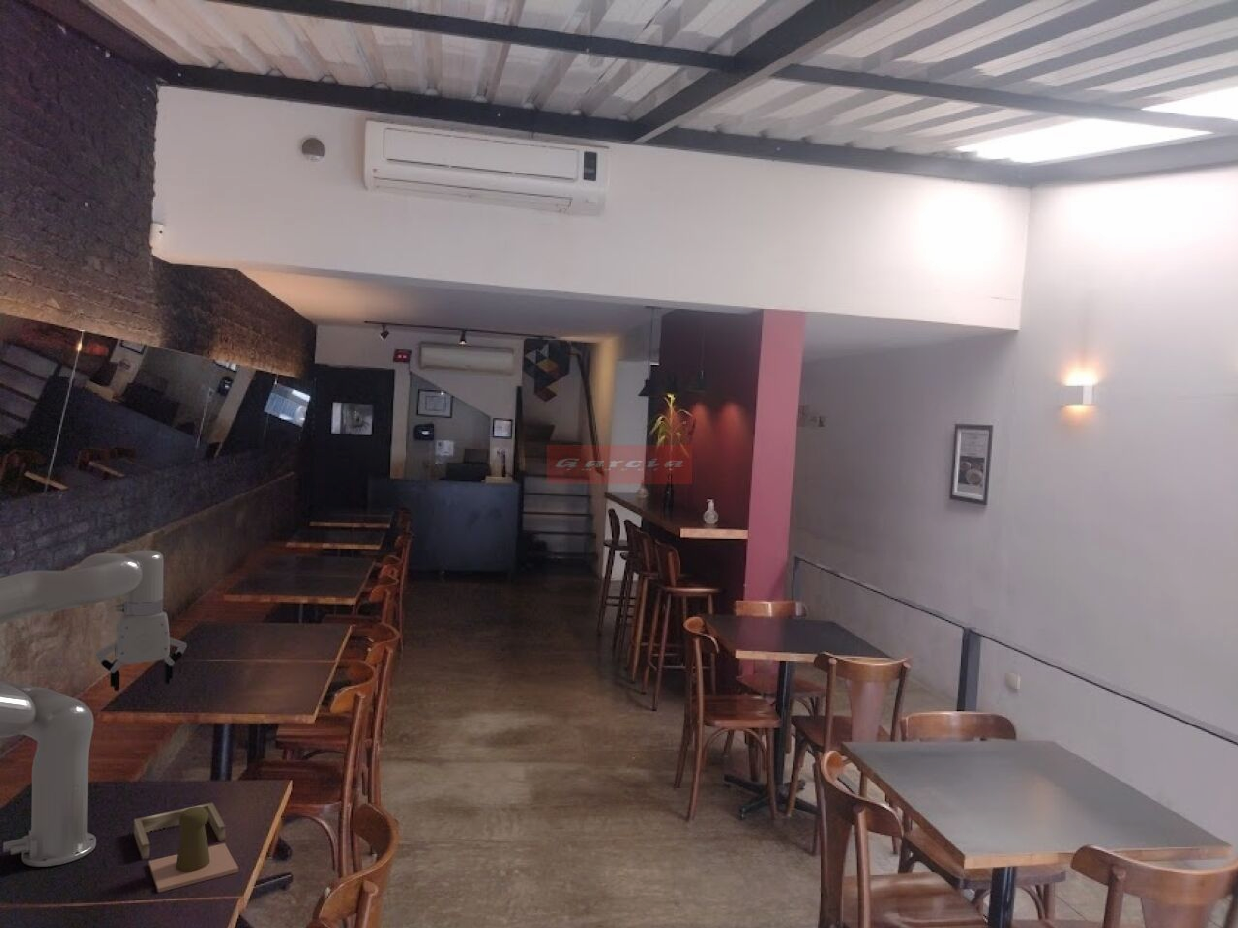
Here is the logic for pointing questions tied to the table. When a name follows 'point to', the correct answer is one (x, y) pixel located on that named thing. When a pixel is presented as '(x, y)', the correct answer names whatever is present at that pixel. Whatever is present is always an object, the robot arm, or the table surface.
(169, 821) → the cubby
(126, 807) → the table surface
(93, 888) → the table surface
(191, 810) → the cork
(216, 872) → the tile
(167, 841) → the table surface
